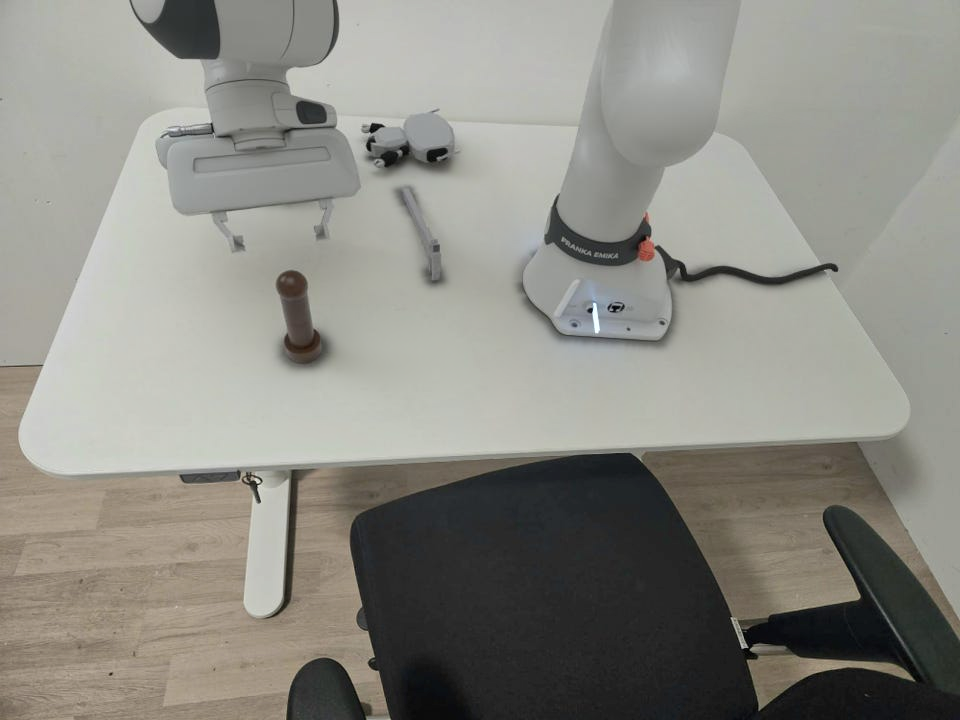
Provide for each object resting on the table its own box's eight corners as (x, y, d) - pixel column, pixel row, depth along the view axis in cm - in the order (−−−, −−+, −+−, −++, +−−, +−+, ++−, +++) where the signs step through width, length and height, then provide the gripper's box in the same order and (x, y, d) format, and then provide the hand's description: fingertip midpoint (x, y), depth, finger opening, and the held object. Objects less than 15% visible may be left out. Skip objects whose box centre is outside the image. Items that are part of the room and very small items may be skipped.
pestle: (326, 339, 74) (316, 265, 63) (315, 366, 72) (302, 294, 61) (293, 332, 74) (277, 256, 63) (280, 359, 72) (261, 285, 60)
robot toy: (376, 184, 94) (462, 169, 98) (373, 160, 90) (464, 146, 94) (359, 138, 100) (442, 126, 104) (356, 115, 97) (442, 103, 100)
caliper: (439, 282, 83) (443, 251, 77) (432, 283, 82) (435, 251, 77) (407, 190, 93) (408, 157, 88) (400, 190, 93) (401, 157, 88)
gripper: (144, 121, 57) (180, 259, 60) (349, 106, 63) (372, 232, 67) (156, 134, 63) (188, 260, 66) (342, 119, 69) (364, 234, 72)
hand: (282, 246), depth 66 cm, fingers open, 8 cm apart
